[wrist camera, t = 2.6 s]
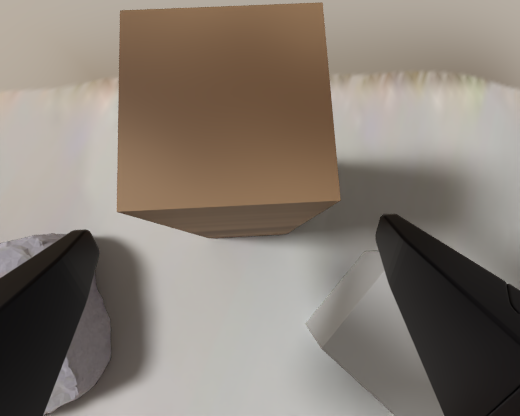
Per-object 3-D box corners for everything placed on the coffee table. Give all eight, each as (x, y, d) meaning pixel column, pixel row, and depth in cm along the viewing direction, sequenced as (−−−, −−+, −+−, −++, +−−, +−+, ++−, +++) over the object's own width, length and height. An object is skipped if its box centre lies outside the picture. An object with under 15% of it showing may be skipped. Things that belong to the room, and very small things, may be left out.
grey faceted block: (437, 314, 19) (500, 336, 14) (379, 391, 18) (424, 442, 14) (364, 251, 20) (400, 251, 15) (304, 323, 19) (321, 348, 14)
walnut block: (286, 234, 20) (340, 200, 7) (209, 238, 20) (117, 211, 7) (281, 160, 20) (322, 3, 8) (206, 163, 20) (120, 10, 7)
